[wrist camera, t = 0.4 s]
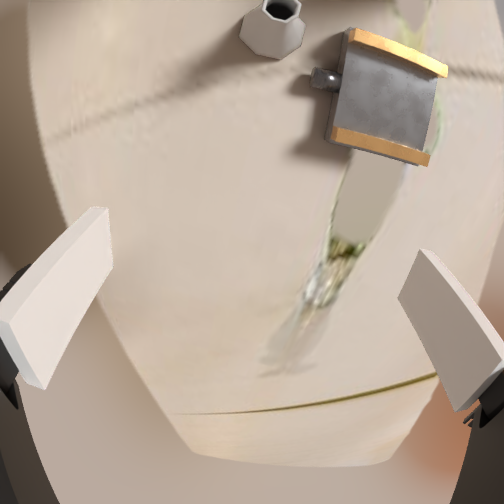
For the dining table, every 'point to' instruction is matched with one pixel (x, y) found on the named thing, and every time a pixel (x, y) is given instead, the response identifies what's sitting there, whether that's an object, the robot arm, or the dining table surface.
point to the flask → (273, 28)
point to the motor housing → (380, 96)
